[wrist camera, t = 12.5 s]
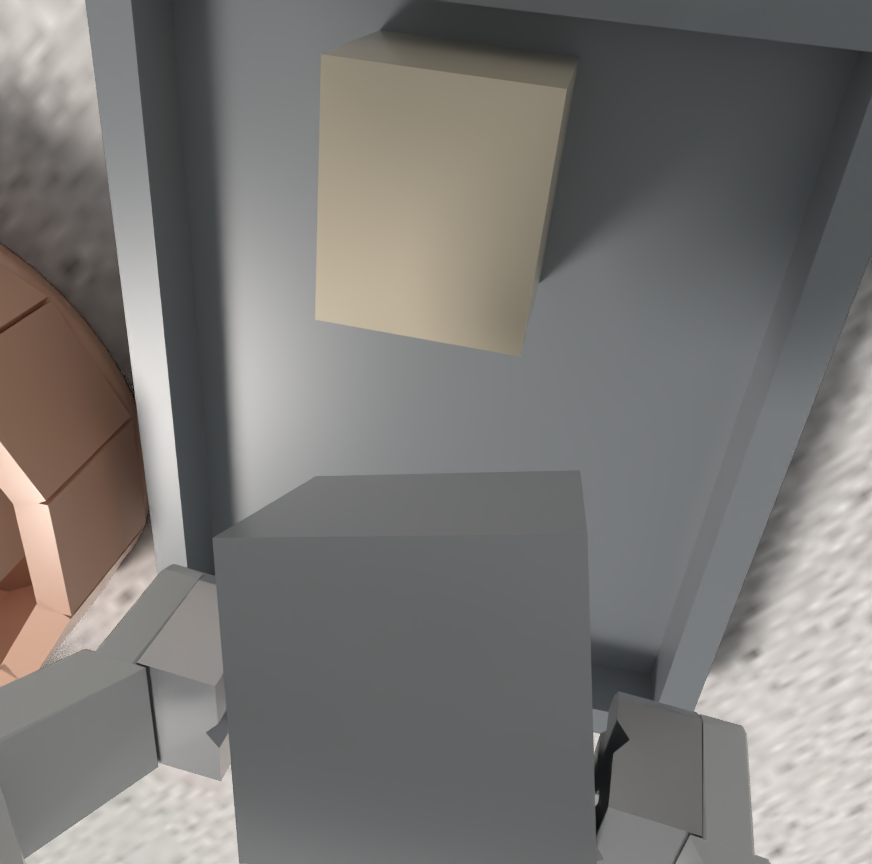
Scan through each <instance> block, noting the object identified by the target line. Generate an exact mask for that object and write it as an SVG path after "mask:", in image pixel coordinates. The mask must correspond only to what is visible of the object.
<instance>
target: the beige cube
mask: <svg viewBox="0 0 872 864" xmlns="http://www.w3.org/2000/svg"><path fill="white" fill-rule="evenodd" d="M24 556H25V551H24V547H23V543H22V539H21V535H20V530H19V526H18V522H17V518H16V513H15V509H14V505H13V503H12V502H11V501H10V499H9V498H8V497H7V496H6V494H5V493H4V492H3V491H2V489H1V488H0V582H1V581H2V579H3V578H4V577H5V576H6V575H7V574H8V573H9V572H10V571H11V570H12V569H13V568H14V567H15V566H16V565H17V564H18V563H19V562H20V561H21V559H22V558H23V557H24Z"/></svg>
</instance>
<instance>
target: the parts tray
mask: <svg viewBox="0 0 872 864" xmlns="http://www.w3.org/2000/svg"><path fill="white" fill-rule="evenodd" d="M85 2H86V10H87V18H88V26H89V34H90V42H91V50H92V57H93V65H94V73H95V81H96V89H97V97H98V105H99V113H100V121H101V129H102V137H103V145H104V153H105V161H106V169H107V177H108V185H109V193H110V200H111V208H112V216H113V224H114V232H115V240H116V248H117V256H118V264H119V272H120V280H121V288H122V296H123V304H124V312H125V320H126V328H127V336H128V343H129V351H130V359H131V367H132V375H133V383H134V391H135V399H136V407H137V415H138V423H139V431H140V439H141V447H142V455H143V463H144V471H145V479H146V486H147V494H148V502H149V510H150V518H151V526H152V534H153V542H154V550H155V558H156V566H157V574H159V573H160V572H161V571H162V570H163V569H165V568H167V567H168V566H170V565H172V564H176V565H180V566H183V567H186V568H190V569H193V570H196V571H199V572H203V573H206V574H211V575H214V576H215V565H214V553H213V541H212V538H213V537H215V536H217V535H218V534H220V533H222V532H223V531H225V530H227V529H228V528H230V527H232V526H233V525H235V524H237V523H238V522H240V521H242V520H243V519H245V518H247V517H248V516H250V515H252V514H253V513H255V512H257V511H258V510H260V509H262V508H263V507H265V506H267V505H268V504H270V503H272V502H273V501H275V500H277V499H278V498H280V497H282V496H283V495H285V494H287V493H288V492H290V491H292V490H293V489H295V488H297V487H298V486H300V485H302V484H303V483H305V482H307V481H308V480H310V479H312V478H313V477H315V476H348V475H392V474H436V473H480V472H524V471H568V470H580V473H581V482H582V490H583V499H584V508H585V516H586V525H587V534H588V568H589V604H590V639H591V675H592V710H593V732H595V733H600V734H601V733H602V732H604V731H606V729H607V721H608V713H609V708H610V706H611V703H612V700H613V698H614V696H615V694H616V692H617V691H619V692H623V693H627V694H630V695H634V696H638V697H641V698H645V699H649V700H652V701H656V702H660V703H663V704H667V705H671V706H674V707H678V708H682V709H685V710H689V711H693V712H694V709H695V707H696V704H697V701H698V699H699V696H700V694H701V691H702V689H703V686H704V683H705V681H706V678H707V676H708V673H709V671H710V668H711V665H712V663H713V660H714V658H715V655H716V652H717V650H718V647H719V645H720V642H721V640H722V637H723V634H724V632H725V629H726V627H727V624H728V622H729V619H730V616H731V614H732V611H733V609H734V606H735V604H736V601H737V598H738V596H739V593H740V591H741V588H742V586H743V583H744V580H745V578H746V575H747V573H748V570H749V568H750V565H751V562H752V560H753V557H754V555H755V552H756V549H757V547H758V544H759V542H760V539H761V537H762V534H763V531H764V529H765V526H766V524H767V521H768V519H769V516H770V513H771V511H772V508H773V506H774V503H775V501H776V498H777V495H778V493H779V490H780V488H781V485H782V483H783V480H784V477H785V475H786V472H787V470H788V467H789V465H790V462H791V459H792V457H793V454H794V452H795V449H796V446H797V444H798V441H799V439H800V436H801V434H802V431H803V428H804V426H805V423H806V421H807V418H808V416H809V413H810V410H811V408H812V405H813V403H814V400H815V398H816V395H817V392H818V390H819V387H820V385H821V382H822V380H823V377H824V374H825V372H826V369H827V367H828V364H829V362H830V359H831V356H832V354H833V351H834V349H835V346H836V343H837V341H838V338H839V336H840V333H841V331H842V328H843V325H844V323H845V320H846V318H847V315H848V313H849V310H850V307H851V305H852V302H853V300H854V297H855V295H856V292H857V289H858V287H859V284H860V282H861V279H862V277H863V274H864V271H865V269H866V266H867V264H868V261H869V259H870V256H871V253H872V0H85ZM378 30H384V31H392V32H399V33H406V34H414V35H421V36H428V37H436V38H443V39H450V40H458V41H465V42H472V43H480V44H487V45H494V46H501V47H509V48H516V49H523V50H531V51H538V52H545V53H553V54H560V55H567V56H575V57H579V62H578V68H577V73H576V79H575V85H574V90H573V96H572V102H571V107H570V113H569V119H568V124H567V130H566V135H565V141H564V147H563V152H562V158H561V164H560V169H559V175H558V181H557V186H556V192H555V197H554V203H553V209H552V214H551V220H550V226H549V231H548V237H547V243H546V248H545V254H544V259H543V265H542V271H541V276H540V282H539V286H538V290H537V294H536V298H535V302H534V306H533V310H532V314H531V318H530V322H529V326H528V330H527V334H526V338H525V342H524V346H523V349H522V353H521V357H520V356H514V355H509V354H503V353H497V352H492V351H486V350H481V349H475V348H470V347H464V346H458V345H453V344H447V343H442V342H436V341H431V340H425V339H420V338H414V337H408V336H403V335H397V334H392V333H386V332H381V331H375V330H370V329H364V328H358V327H353V326H347V325H342V324H336V323H331V322H325V321H319V320H315V300H316V255H317V210H318V166H319V121H320V76H321V54H323V53H325V52H328V51H330V50H332V49H335V48H337V47H340V46H342V45H345V44H347V43H349V42H352V41H354V40H357V39H359V38H361V37H364V36H366V35H369V34H371V33H373V32H376V31H378Z"/></svg>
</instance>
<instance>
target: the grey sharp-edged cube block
mask: <svg viewBox="0 0 872 864" xmlns="http://www.w3.org/2000/svg"><path fill="white" fill-rule="evenodd" d="M212 541H213V553H214V565H215V577H216V589H217V601H218V613H219V625H220V637H221V649H222V661H223V673H224V685H225V697H226V709H227V721H228V733H229V745H230V757H231V769H232V781H233V794H234V806H235V818H236V830H237V842H238V854H239V864H597V853H596V817H595V781H594V746H593V710H592V675H591V639H590V604H589V568H588V534H587V525H586V516H585V508H584V499H583V490H582V482H581V473H580V470H568V471H524V472H480V473H436V474H392V475H348V476H315V477H313V478H312V479H310V480H308V481H307V482H305V483H303V484H302V485H300V486H298V487H297V488H295V489H293V490H292V491H290V492H288V493H287V494H285V495H283V496H282V497H280V498H278V499H277V500H275V501H273V502H272V503H270V504H268V505H267V506H265V507H263V508H262V509H260V510H258V511H257V512H255V513H253V514H252V515H250V516H248V517H247V518H245V519H243V520H242V521H240V522H238V523H237V524H235V525H233V526H232V527H230V528H228V529H227V530H225V531H223V532H222V533H220V534H218V535H217V536H215V537H213V538H212Z"/></svg>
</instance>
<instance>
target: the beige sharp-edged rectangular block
mask: <svg viewBox="0 0 872 864" xmlns="http://www.w3.org/2000/svg"><path fill="white" fill-rule="evenodd" d="M578 62H579V57H575V56H567V55H560V54H553V53H545V52H538V51H531V50H523V49H516V48H509V47H501V46H494V45H487V44H480V43H472V42H465V41H458V40H450V39H443V38H436V37H428V36H421V35H414V34H406V33H399V32H392V31H384V30H378V31H376V32H373V33H371V34H369V35H366V36H364V37H361V38H359V39H357V40H354V41H352V42H349V43H347V44H345V45H342V46H340V47H337V48H335V49H332V50H330V51H328V52H325V53H323V54H321V76H320V121H319V166H318V210H317V255H316V300H315V320H319V321H325V322H331V323H336V324H342V325H347V326H353V327H358V328H364V329H370V330H375V331H381V332H386V333H392V334H397V335H403V336H408V337H414V338H420V339H425V340H431V341H436V342H442V343H447V344H453V345H458V346H464V347H470V348H475V349H481V350H486V351H492V352H497V353H503V354H509V355H514V356H520V357H521V353H522V349H523V346H524V342H525V338H526V334H527V330H528V326H529V322H530V318H531V314H532V310H533V306H534V302H535V298H536V294H537V290H538V286H539V282H540V276H541V271H542V265H543V259H544V254H545V248H546V243H547V237H548V231H549V226H550V220H551V214H552V209H553V203H554V197H555V192H556V186H557V181H558V175H559V169H560V164H561V158H562V152H563V147H564V141H565V135H566V130H567V124H568V119H569V113H570V107H571V102H572V96H573V90H574V85H575V79H576V73H577V68H578Z"/></svg>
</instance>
